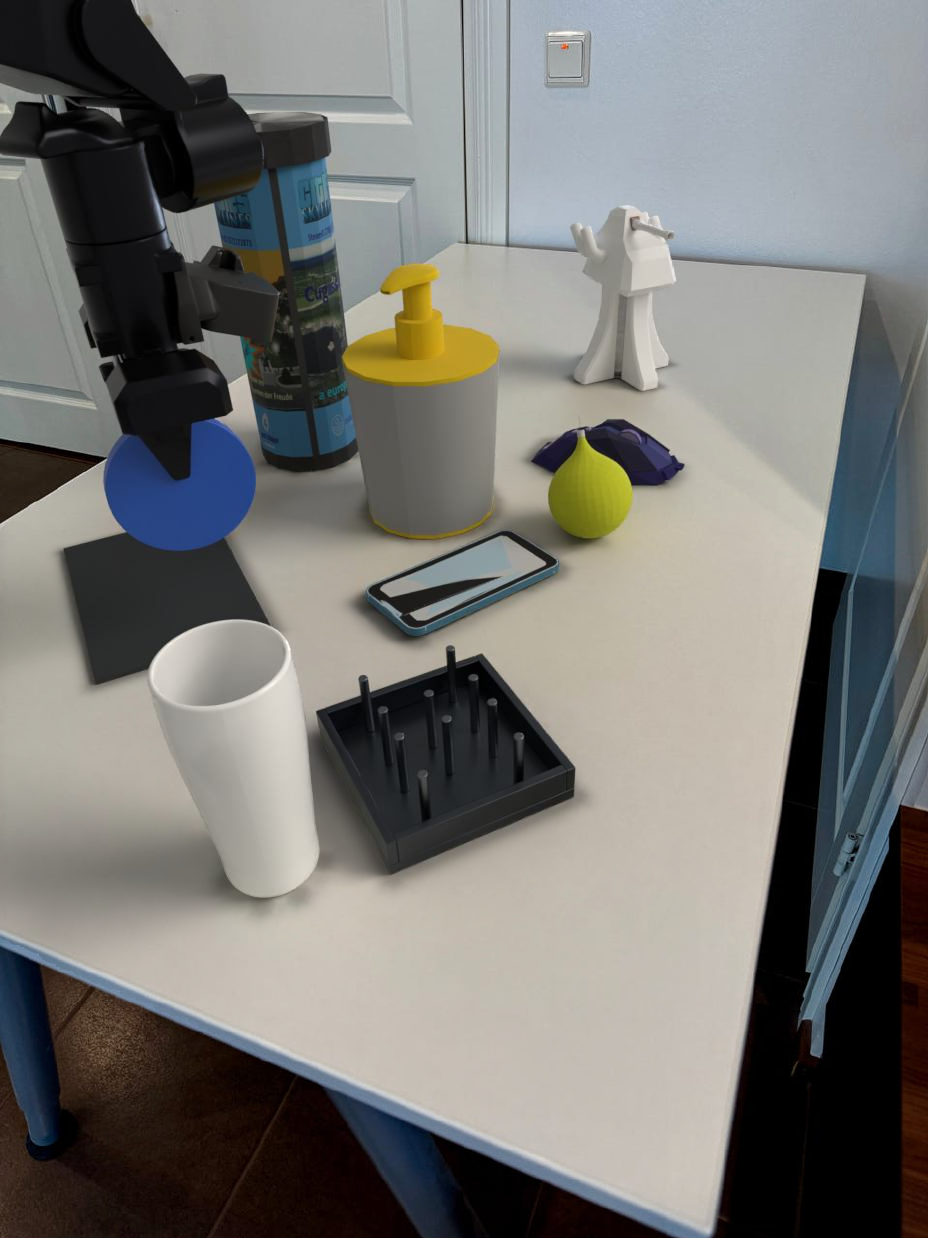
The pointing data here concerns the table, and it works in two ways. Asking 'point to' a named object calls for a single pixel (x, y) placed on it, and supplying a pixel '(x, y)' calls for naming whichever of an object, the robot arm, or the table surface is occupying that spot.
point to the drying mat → (151, 598)
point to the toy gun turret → (625, 296)
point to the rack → (442, 759)
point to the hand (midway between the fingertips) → (180, 473)
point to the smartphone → (460, 581)
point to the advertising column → (294, 296)
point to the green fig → (589, 493)
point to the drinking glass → (241, 748)
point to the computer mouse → (616, 451)
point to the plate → (181, 489)
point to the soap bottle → (424, 415)
